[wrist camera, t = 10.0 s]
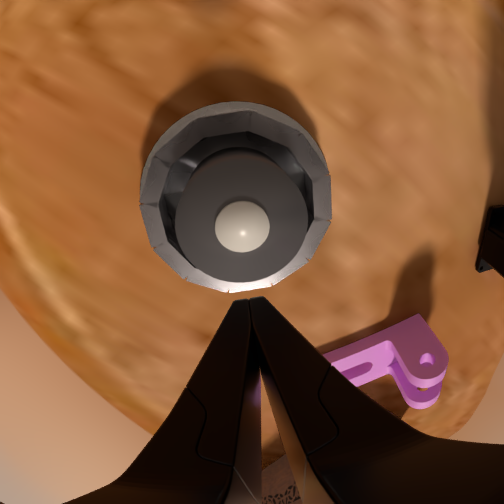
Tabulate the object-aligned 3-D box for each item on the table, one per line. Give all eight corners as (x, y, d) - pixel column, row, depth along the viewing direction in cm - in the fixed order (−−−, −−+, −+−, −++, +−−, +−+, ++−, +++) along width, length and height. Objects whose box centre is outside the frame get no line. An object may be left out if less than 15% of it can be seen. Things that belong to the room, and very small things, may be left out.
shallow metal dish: (322, 93, 14) (335, 92, 13) (330, 265, 20) (340, 282, 18) (123, 124, 14) (109, 127, 12) (167, 290, 20) (162, 309, 18)
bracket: (418, 312, 24) (456, 365, 17) (416, 347, 26) (446, 397, 20) (286, 365, 25) (301, 432, 19) (301, 395, 27) (315, 453, 21)
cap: (284, 140, 15) (304, 152, 12) (293, 237, 18) (311, 274, 15) (175, 157, 15) (160, 174, 12) (197, 252, 18) (191, 293, 14)
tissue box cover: (310, 480, 45) (318, 520, 36) (244, 480, 41) (249, 526, 33) (400, 417, 35) (422, 470, 26) (326, 418, 31) (346, 488, 22)
